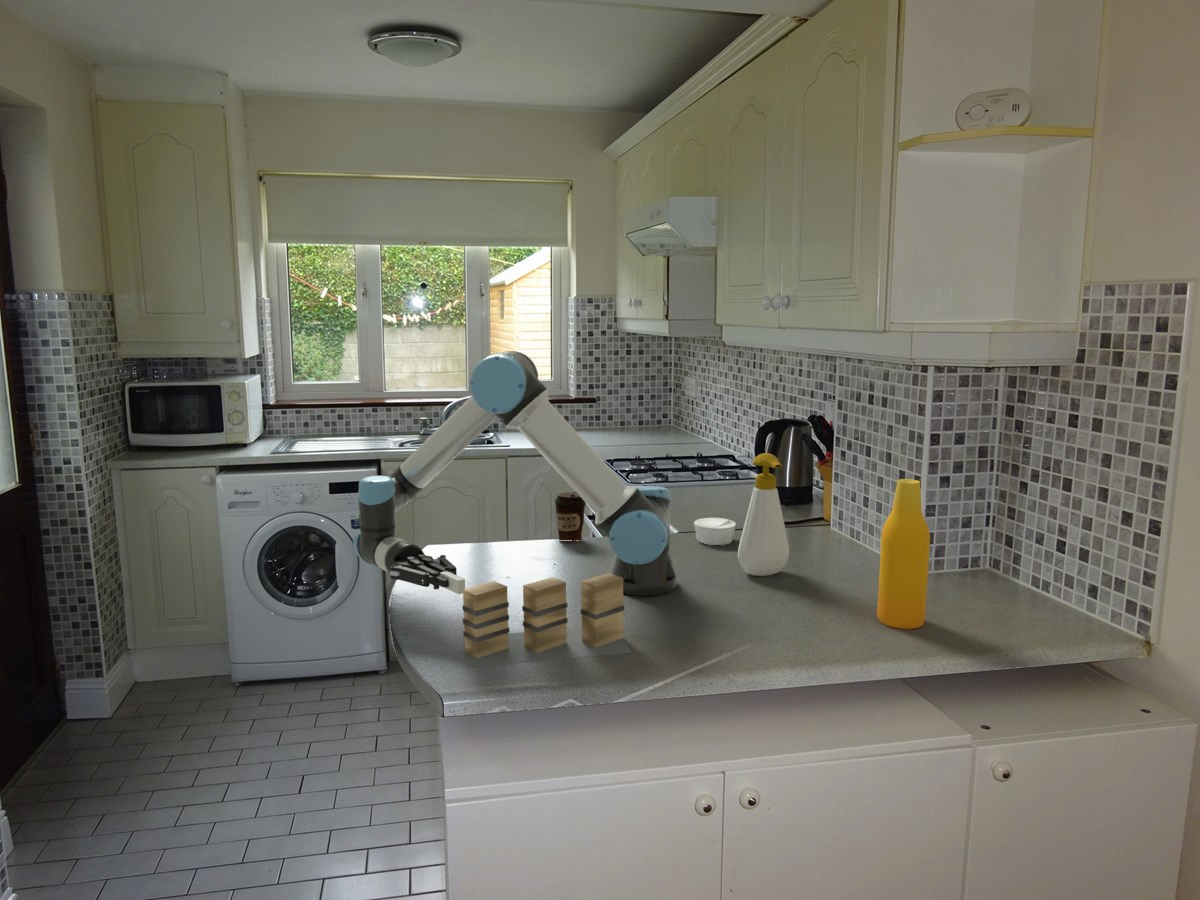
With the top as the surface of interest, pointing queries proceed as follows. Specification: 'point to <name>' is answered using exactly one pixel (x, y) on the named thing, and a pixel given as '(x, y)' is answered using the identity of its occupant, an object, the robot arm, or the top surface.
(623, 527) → the robot arm
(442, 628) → the top surface
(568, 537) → the coffee cup
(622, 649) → the mat
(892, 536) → the beer bottle
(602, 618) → the banded wooden block
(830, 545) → the top surface
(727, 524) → the ramekin
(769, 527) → the soap bottle
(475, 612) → the striped wooden block
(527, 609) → the wooden block
